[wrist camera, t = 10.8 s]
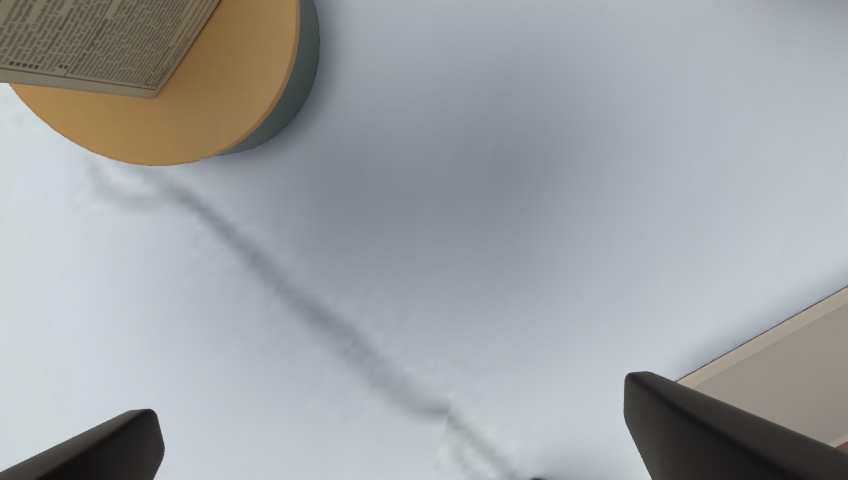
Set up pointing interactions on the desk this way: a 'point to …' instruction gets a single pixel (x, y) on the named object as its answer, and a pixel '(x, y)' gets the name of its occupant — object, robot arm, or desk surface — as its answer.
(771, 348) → the book
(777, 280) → the desk surface
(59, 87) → the box
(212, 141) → the tin
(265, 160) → the desk surface
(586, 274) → the desk surface
